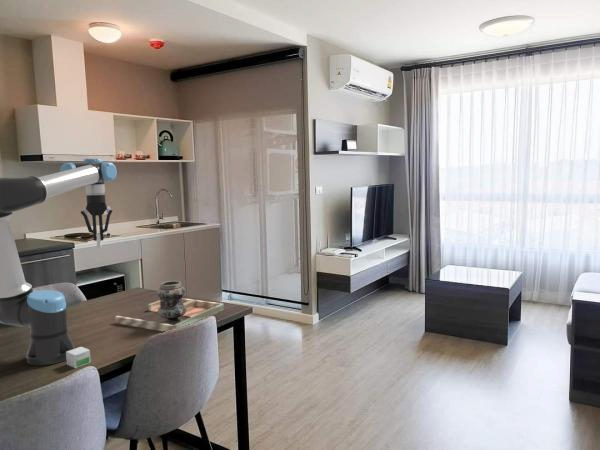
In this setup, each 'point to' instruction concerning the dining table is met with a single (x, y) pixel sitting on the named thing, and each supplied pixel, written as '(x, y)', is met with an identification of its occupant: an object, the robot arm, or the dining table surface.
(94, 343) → the dining table surface
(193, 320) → the trap box
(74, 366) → the small box
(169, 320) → the apothecary jar
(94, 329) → the dining table surface
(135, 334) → the dining table surface
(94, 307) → the dining table surface
